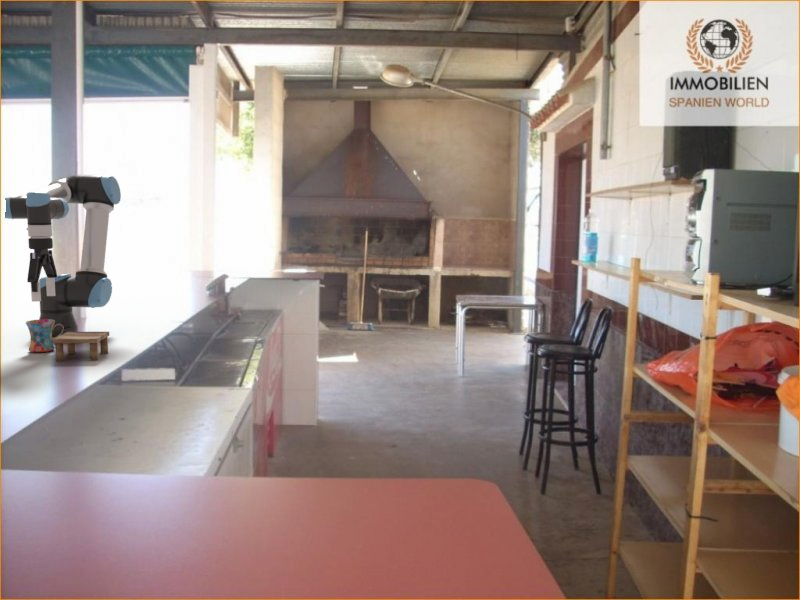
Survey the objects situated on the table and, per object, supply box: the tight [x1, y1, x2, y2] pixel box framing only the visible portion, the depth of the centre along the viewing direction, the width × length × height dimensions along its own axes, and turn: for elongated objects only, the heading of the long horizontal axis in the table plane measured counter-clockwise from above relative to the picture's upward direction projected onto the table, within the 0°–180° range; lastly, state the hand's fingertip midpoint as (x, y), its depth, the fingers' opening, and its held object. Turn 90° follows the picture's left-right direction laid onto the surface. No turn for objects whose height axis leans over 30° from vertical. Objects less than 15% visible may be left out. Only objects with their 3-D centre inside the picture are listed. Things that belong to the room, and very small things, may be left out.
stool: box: [52, 331, 110, 362], centre depth 257 cm, size 14×14×7 cm
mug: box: [25, 319, 64, 354], centre depth 267 cm, size 12×9×11 cm
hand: (43, 298), depth 265 cm, fingers open, 13 cm apart
